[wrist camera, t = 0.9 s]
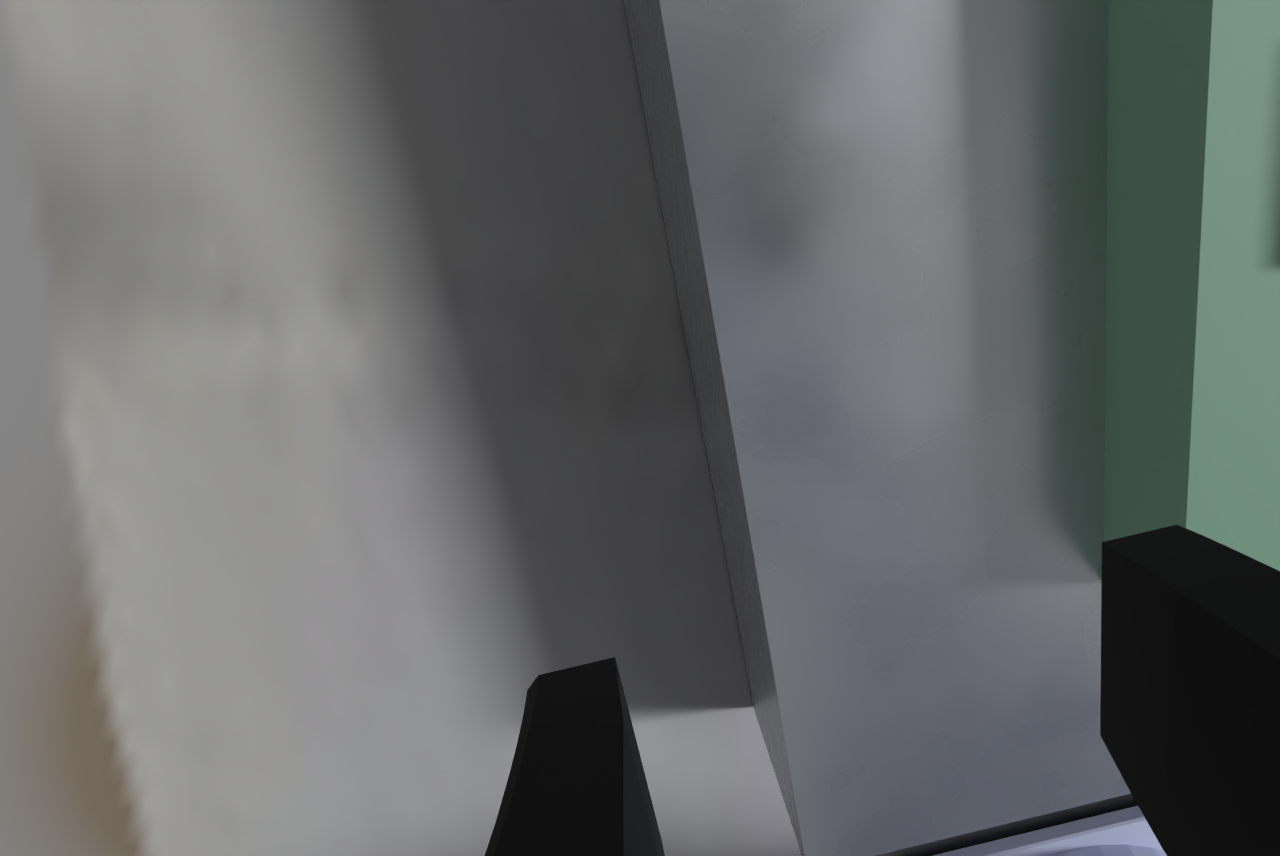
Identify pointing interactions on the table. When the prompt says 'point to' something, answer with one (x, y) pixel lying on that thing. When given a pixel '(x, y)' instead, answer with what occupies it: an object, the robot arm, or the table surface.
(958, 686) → the deck
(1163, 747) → the robot arm
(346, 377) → the table surface
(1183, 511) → the thick sage green slab
